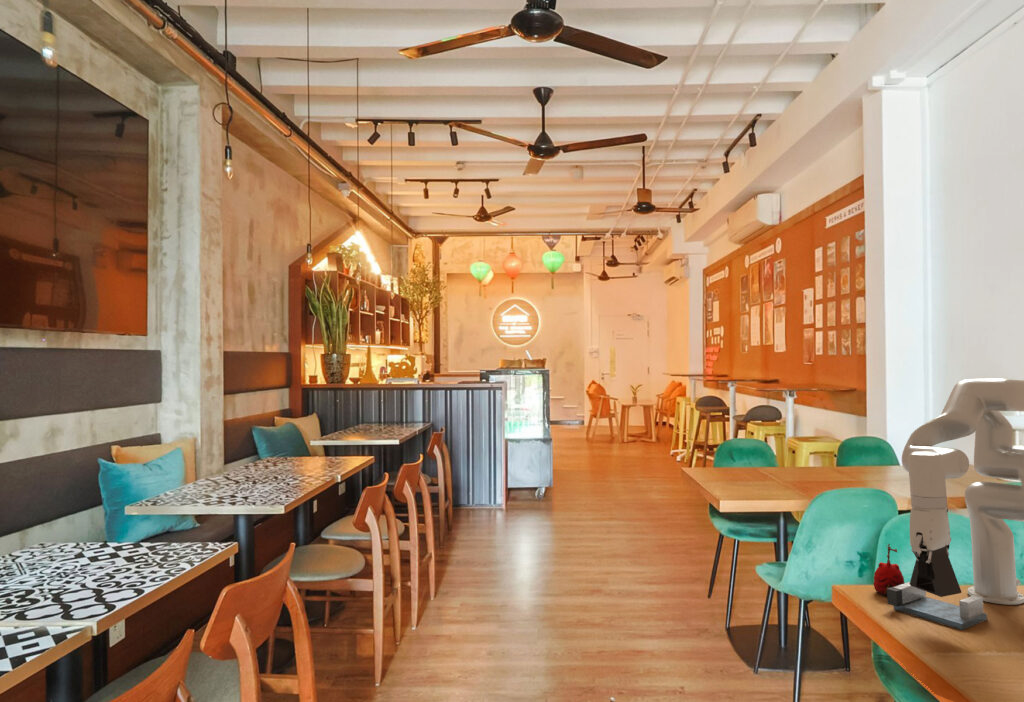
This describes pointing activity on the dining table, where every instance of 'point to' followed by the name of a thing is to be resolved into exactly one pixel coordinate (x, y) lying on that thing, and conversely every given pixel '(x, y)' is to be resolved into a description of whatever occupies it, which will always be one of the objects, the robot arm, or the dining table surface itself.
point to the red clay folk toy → (887, 575)
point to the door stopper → (937, 575)
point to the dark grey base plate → (947, 611)
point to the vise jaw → (903, 594)
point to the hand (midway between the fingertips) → (933, 574)
